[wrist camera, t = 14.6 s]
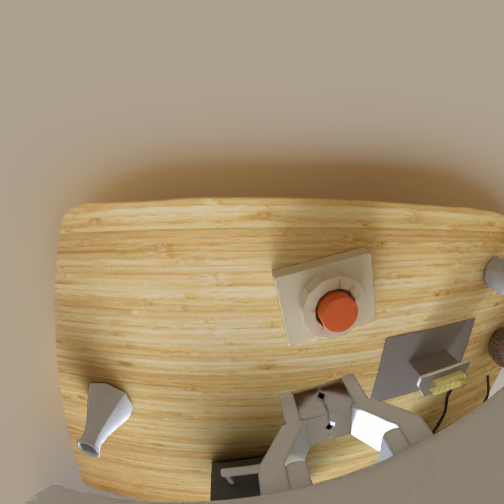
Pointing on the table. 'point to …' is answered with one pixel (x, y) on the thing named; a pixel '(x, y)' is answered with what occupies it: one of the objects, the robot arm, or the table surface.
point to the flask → (103, 416)
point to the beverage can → (495, 275)
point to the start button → (337, 311)
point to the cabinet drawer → (235, 479)
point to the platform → (424, 361)
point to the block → (323, 292)
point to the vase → (497, 347)
